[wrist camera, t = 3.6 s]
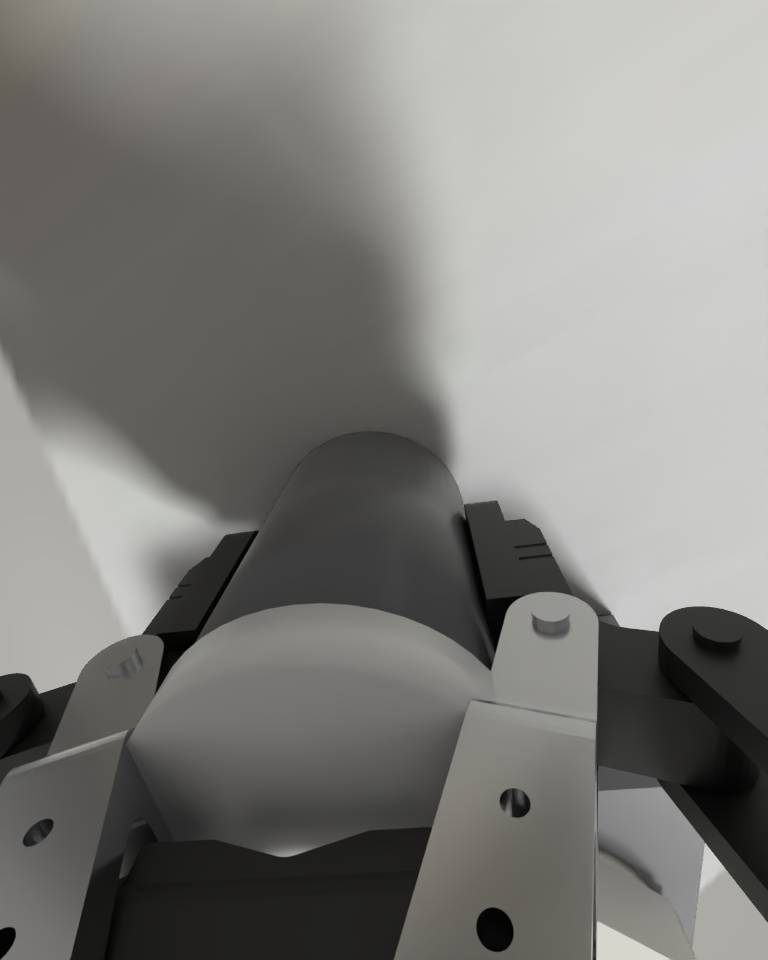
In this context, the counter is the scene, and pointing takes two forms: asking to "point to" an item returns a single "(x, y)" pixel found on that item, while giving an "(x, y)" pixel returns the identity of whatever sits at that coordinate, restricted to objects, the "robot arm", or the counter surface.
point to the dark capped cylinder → (328, 662)
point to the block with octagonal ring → (644, 869)
